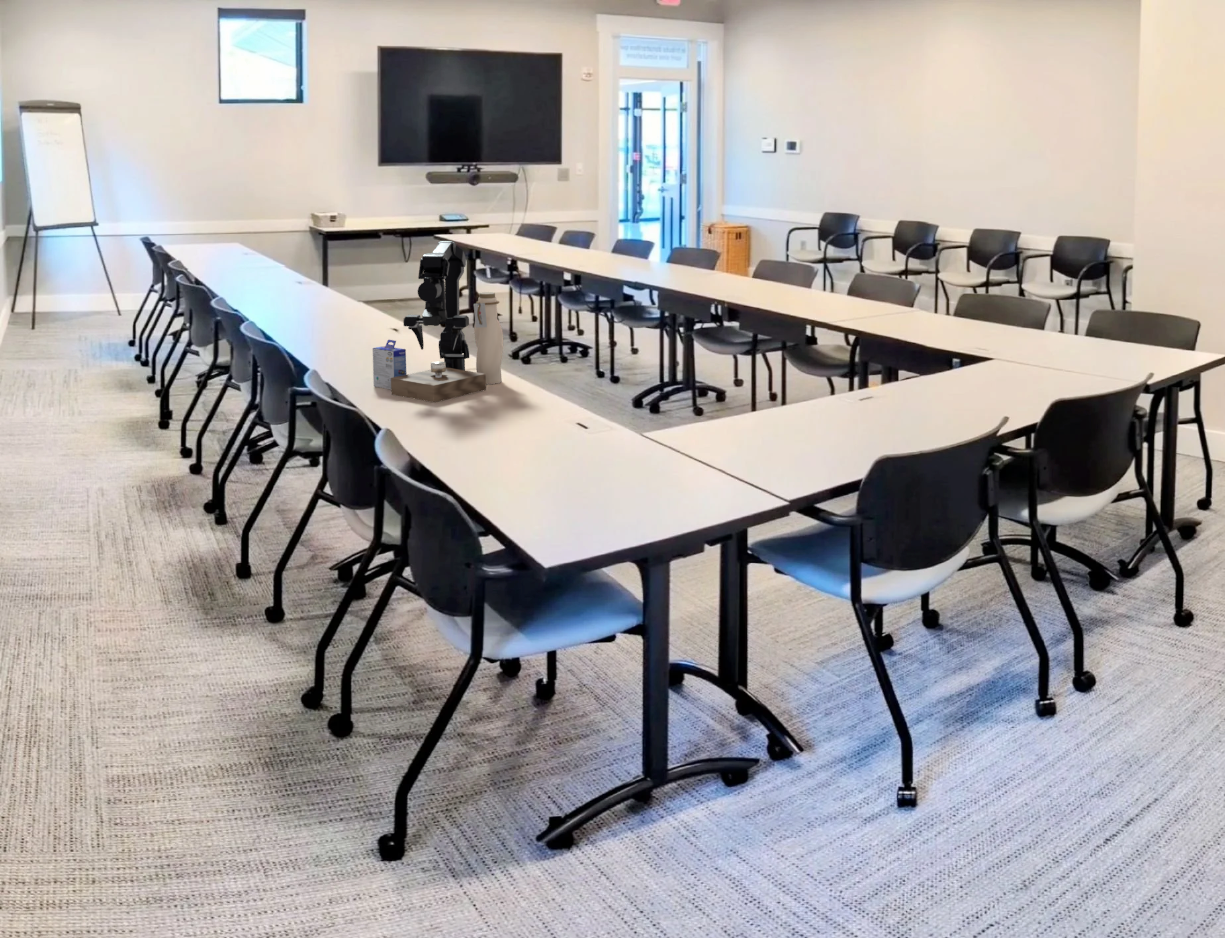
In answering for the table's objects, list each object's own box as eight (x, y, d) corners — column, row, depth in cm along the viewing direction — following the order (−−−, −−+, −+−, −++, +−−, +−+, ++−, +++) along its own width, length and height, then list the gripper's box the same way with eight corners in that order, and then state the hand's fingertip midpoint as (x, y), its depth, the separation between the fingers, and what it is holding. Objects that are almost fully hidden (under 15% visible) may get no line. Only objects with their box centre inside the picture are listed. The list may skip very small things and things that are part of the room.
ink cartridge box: (408, 387, 348) (406, 341, 344) (395, 390, 344) (392, 343, 340) (386, 383, 354) (384, 337, 350) (373, 386, 350) (370, 340, 346)
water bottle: (498, 386, 351) (495, 295, 343) (470, 385, 353) (467, 295, 345) (507, 379, 361) (505, 291, 353) (480, 378, 362) (478, 290, 355)
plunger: (439, 389, 345) (438, 360, 343) (449, 391, 343) (448, 362, 340) (428, 391, 342) (427, 363, 339) (439, 393, 339) (438, 364, 337)
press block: (443, 382, 356) (443, 367, 355) (486, 389, 346) (485, 373, 344) (391, 394, 339) (390, 377, 338) (434, 402, 329) (433, 385, 327)
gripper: (397, 300, 327) (400, 353, 332) (461, 301, 326) (463, 354, 330) (406, 295, 338) (409, 347, 342) (468, 296, 337) (470, 348, 341)
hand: (437, 349), depth 339 cm, fingers open, 9 cm apart
